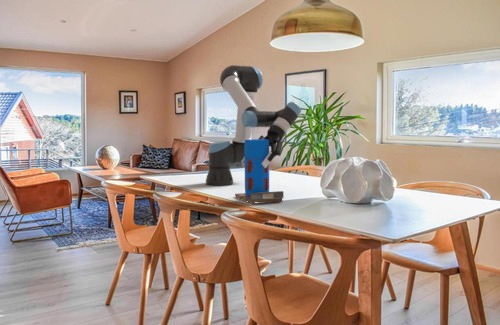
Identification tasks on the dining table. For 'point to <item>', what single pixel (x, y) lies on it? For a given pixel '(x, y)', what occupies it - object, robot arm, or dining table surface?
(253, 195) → the shelf board
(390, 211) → the dining table surface
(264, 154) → the blue tall block
